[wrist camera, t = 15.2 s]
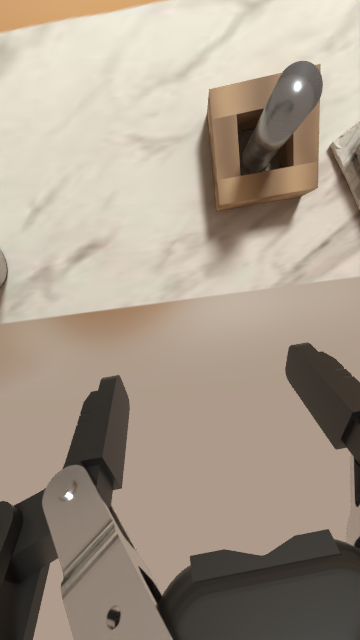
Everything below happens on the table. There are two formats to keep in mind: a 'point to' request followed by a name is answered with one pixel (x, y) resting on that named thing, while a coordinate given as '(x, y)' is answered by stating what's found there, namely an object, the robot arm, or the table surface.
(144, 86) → the table surface
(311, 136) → the wooden frame
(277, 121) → the steel rod
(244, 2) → the table surface
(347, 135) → the packaged product
